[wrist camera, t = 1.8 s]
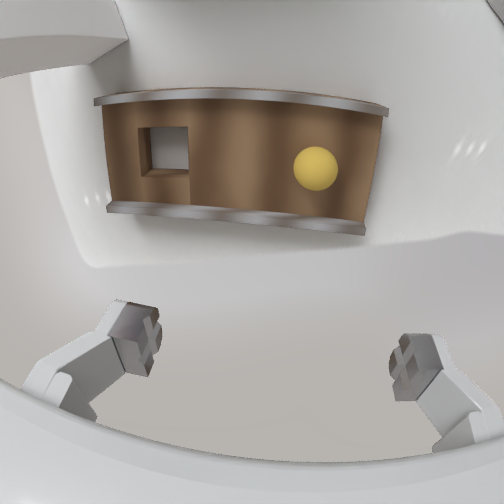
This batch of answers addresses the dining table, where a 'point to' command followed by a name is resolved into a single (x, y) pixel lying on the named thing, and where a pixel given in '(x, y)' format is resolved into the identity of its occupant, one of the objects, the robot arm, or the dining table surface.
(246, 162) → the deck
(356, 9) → the dining table surface
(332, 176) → the ball
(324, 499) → the robot arm
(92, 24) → the milk
